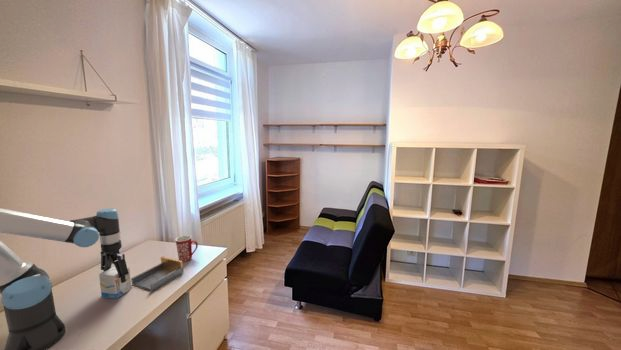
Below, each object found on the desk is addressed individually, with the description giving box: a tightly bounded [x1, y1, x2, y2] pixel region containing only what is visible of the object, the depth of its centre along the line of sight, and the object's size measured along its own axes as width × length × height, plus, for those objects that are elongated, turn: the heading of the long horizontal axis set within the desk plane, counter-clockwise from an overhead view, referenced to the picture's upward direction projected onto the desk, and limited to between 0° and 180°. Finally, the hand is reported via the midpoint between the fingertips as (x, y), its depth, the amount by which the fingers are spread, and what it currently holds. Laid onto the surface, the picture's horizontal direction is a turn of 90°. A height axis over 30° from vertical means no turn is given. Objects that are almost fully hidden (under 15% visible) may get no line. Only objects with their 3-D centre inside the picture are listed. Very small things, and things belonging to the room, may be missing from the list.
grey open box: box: [130, 256, 184, 292], centre depth 133 cm, size 18×15×7 cm
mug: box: [174, 234, 199, 263], centre depth 154 cm, size 13×9×14 cm
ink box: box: [98, 265, 132, 300], centre depth 120 cm, size 9×8×12 cm
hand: (116, 286), depth 121 cm, fingers closed on ink box, 9 cm apart
